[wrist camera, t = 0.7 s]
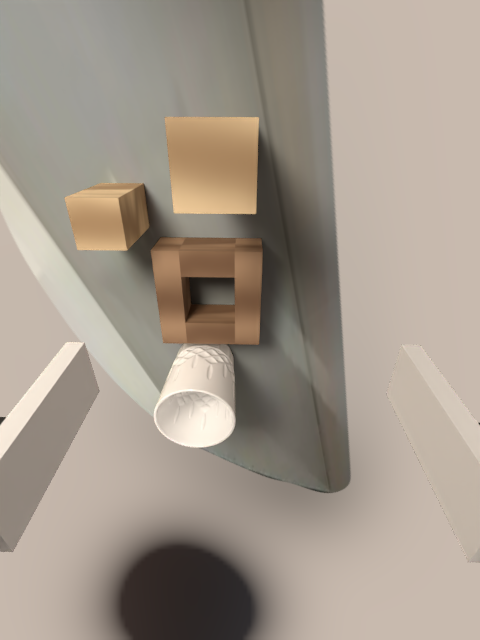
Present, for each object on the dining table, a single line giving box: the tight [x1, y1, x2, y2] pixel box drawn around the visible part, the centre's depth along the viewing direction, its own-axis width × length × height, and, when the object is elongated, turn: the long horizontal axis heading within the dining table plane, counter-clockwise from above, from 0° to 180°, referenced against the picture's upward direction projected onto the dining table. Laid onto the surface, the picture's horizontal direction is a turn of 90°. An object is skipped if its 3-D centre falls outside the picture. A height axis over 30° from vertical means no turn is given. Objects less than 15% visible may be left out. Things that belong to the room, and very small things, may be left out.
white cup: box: [154, 343, 236, 447], centre depth 36 cm, size 8×8×10 cm
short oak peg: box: [65, 183, 149, 250], centre depth 29 cm, size 4×4×7 cm
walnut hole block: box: [151, 237, 263, 345], centre depth 34 cm, size 10×10×4 cm
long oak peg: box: [165, 117, 259, 214], centre depth 22 cm, size 4×4×16 cm
